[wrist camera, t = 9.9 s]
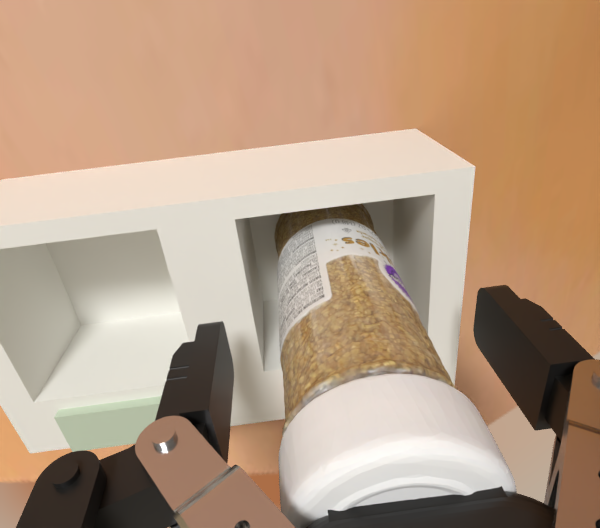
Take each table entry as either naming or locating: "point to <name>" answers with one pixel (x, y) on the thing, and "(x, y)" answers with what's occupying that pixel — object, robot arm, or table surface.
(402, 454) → the spice jar
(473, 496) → the robot arm
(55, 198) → the socket block
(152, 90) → the table surface
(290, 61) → the table surface
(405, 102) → the table surface
